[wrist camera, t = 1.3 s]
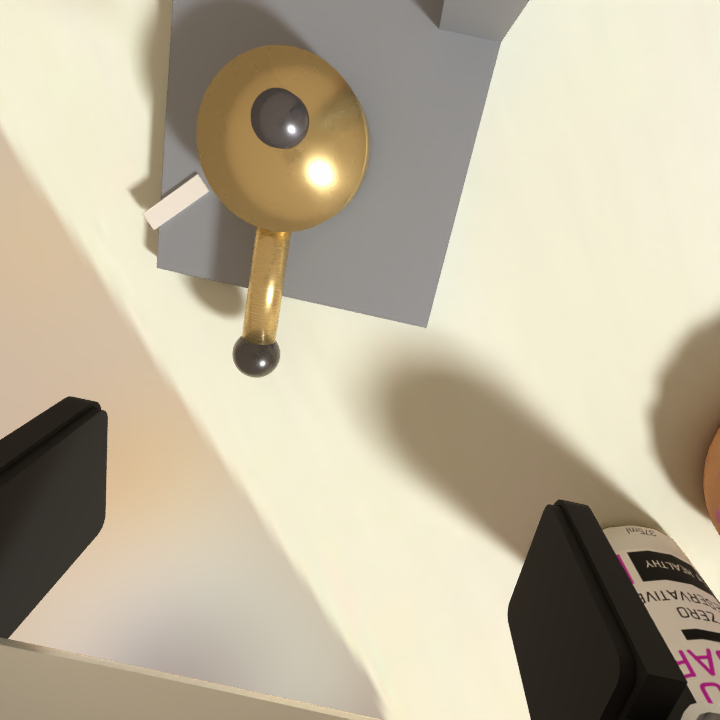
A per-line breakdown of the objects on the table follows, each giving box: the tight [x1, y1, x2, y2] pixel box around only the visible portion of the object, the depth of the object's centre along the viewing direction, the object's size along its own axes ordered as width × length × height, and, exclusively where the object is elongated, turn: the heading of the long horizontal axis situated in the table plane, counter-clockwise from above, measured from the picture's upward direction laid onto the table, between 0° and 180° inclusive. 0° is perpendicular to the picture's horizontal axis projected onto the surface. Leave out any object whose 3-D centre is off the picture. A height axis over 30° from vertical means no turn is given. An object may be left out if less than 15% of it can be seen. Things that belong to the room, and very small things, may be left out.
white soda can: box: [603, 525, 720, 706], centre depth 28 cm, size 8×8×15 cm
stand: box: [143, 0, 529, 328], centre depth 21 cm, size 20×17×13 cm
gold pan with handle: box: [196, 45, 371, 377], centre depth 26 cm, size 16×8×4 cm, turn 169°
